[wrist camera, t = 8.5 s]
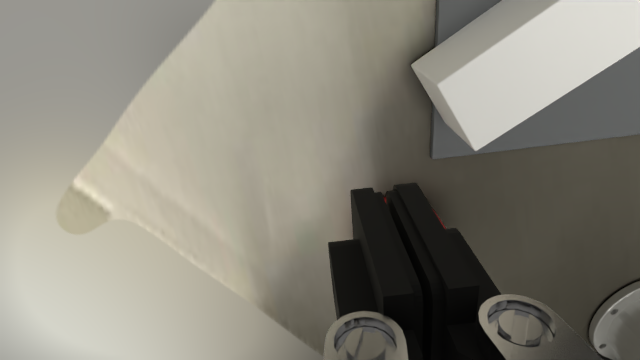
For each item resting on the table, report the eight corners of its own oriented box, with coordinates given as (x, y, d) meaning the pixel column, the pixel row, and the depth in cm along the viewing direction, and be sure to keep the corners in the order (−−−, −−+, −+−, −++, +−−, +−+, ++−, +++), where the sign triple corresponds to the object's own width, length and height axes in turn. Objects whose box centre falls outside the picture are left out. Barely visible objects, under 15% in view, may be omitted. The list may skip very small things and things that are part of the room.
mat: (670, 127, 37) (676, 129, 37) (430, 156, 36) (432, 159, 36) (762, -153, 28) (771, -155, 27) (441, -124, 27) (444, -125, 26)
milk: (409, 65, 32) (691, -139, 28) (444, 124, 34) (708, -54, 30) (437, 85, 26) (794, -164, 22) (477, 154, 29) (803, -57, 25)
